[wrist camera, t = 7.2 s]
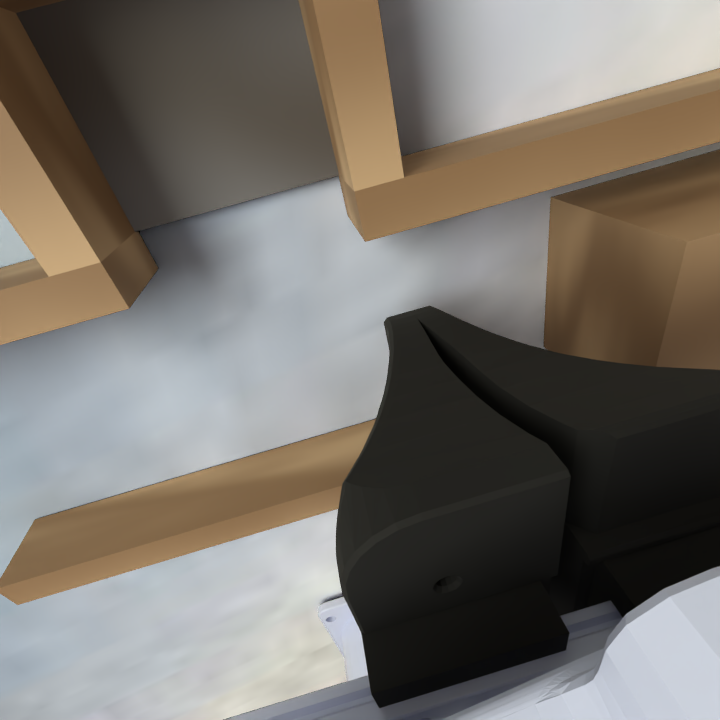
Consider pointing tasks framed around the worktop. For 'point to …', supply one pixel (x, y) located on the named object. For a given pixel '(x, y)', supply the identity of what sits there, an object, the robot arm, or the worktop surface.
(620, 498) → the robot arm
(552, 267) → the walnut block
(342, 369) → the worktop surface
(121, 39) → the trap lane
